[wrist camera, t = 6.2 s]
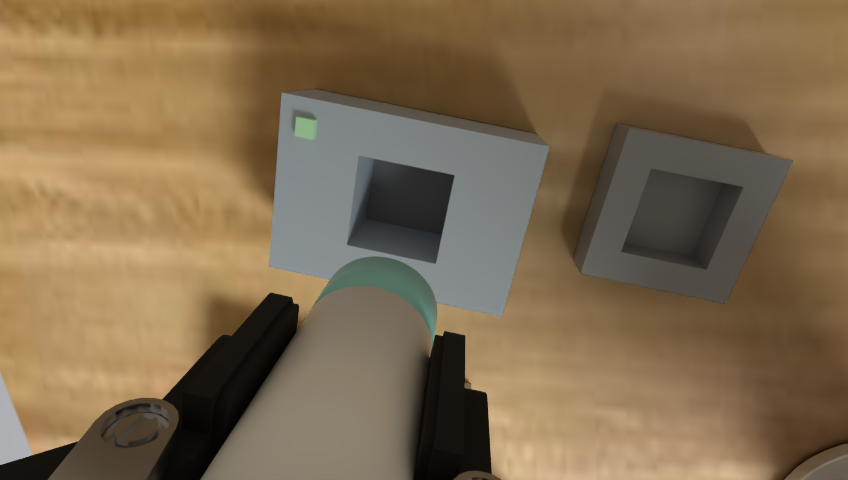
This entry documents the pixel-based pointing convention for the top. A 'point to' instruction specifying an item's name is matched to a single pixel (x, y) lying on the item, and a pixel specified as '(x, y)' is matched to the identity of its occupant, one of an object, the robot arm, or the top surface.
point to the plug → (343, 385)
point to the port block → (403, 194)
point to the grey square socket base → (676, 212)
